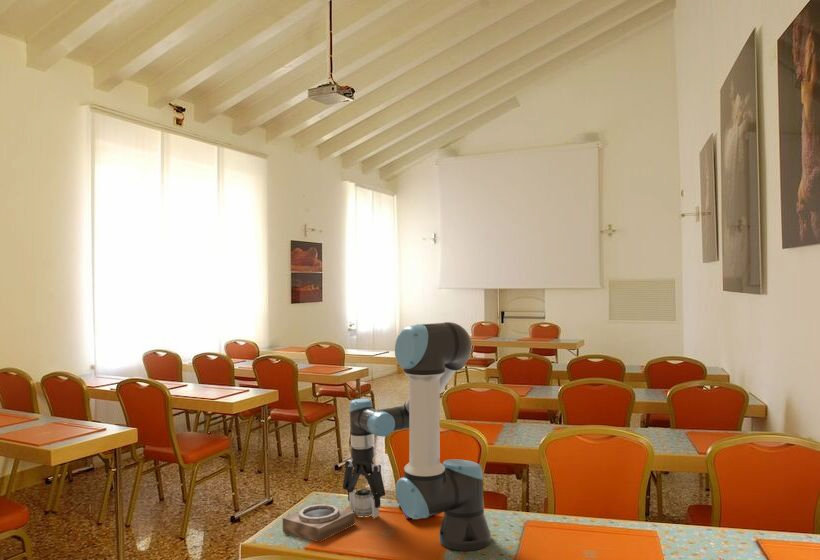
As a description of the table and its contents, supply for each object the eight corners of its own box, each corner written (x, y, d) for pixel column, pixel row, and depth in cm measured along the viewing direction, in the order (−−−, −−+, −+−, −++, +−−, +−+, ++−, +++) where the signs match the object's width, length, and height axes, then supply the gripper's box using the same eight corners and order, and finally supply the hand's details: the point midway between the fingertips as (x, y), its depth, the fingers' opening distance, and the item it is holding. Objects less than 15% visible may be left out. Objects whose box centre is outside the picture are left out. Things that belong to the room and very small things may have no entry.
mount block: (355, 524, 201) (354, 508, 201) (319, 542, 188) (318, 524, 188) (319, 514, 210) (318, 499, 210) (282, 530, 197) (282, 514, 197)
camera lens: (375, 511, 212) (374, 488, 212) (371, 518, 205) (371, 494, 205) (357, 511, 213) (356, 487, 213) (353, 518, 206) (352, 494, 206)
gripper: (395, 448, 205) (397, 516, 206) (345, 439, 219) (347, 504, 219) (380, 453, 199) (382, 524, 199) (330, 444, 213) (332, 511, 213)
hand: (364, 513), depth 209 cm, fingers open, 9 cm apart
